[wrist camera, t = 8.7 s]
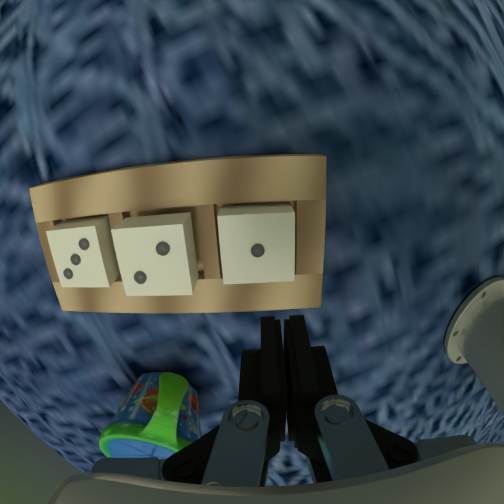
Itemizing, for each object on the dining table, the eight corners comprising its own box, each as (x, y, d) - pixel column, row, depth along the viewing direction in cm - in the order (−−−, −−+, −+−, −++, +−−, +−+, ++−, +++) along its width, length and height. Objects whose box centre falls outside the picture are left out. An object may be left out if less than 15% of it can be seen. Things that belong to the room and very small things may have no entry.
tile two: (190, 212, 20) (182, 224, 18) (198, 276, 22) (192, 296, 20) (125, 217, 20) (109, 230, 18) (137, 278, 22) (125, 297, 20)
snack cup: (186, 432, 34) (177, 494, 25) (114, 403, 32) (92, 464, 23) (238, 368, 29) (236, 451, 20) (143, 327, 27) (109, 406, 18)
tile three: (110, 215, 21) (93, 226, 19) (121, 271, 23) (108, 288, 21) (62, 220, 22) (44, 232, 19) (76, 273, 23) (60, 288, 21)
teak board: (319, 154, 21) (326, 156, 19) (315, 294, 26) (320, 306, 24) (42, 183, 21) (29, 188, 19) (71, 300, 26) (62, 310, 24)
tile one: (289, 202, 21) (295, 213, 19) (289, 264, 23) (294, 282, 21) (220, 205, 21) (216, 216, 19) (226, 267, 23) (223, 285, 21)
